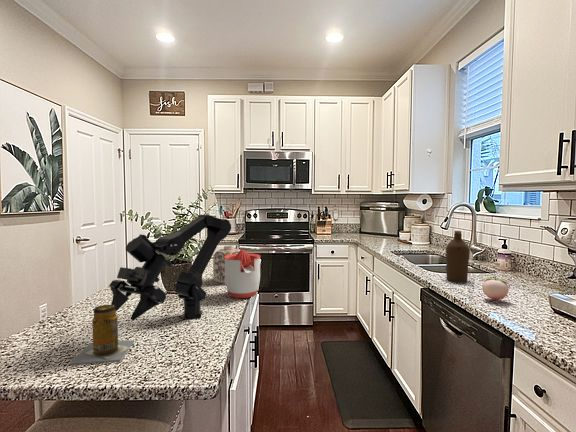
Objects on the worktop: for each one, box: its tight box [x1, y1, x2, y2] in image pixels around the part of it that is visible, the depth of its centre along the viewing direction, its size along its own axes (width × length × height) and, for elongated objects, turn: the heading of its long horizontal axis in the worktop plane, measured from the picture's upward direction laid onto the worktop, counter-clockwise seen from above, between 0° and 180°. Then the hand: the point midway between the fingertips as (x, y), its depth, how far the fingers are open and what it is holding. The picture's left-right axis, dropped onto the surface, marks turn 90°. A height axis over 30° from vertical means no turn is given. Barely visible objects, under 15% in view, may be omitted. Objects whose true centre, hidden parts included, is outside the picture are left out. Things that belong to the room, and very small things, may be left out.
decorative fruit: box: [481, 276, 510, 302], centre depth 136 cm, size 9×8×10 cm
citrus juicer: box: [224, 248, 261, 299], centre depth 145 cm, size 16×17×20 cm
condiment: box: [86, 304, 131, 358], centre depth 91 cm, size 7×8×12 cm
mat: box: [69, 339, 135, 366], centre depth 92 cm, size 12×12×1 cm
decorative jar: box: [212, 244, 241, 285], centre depth 170 cm, size 12×12×18 cm
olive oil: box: [445, 230, 470, 283], centre depth 170 cm, size 11×11×25 cm
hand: (120, 317), depth 96 cm, fingers open, 9 cm apart
